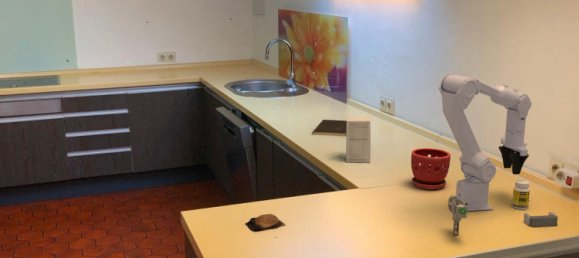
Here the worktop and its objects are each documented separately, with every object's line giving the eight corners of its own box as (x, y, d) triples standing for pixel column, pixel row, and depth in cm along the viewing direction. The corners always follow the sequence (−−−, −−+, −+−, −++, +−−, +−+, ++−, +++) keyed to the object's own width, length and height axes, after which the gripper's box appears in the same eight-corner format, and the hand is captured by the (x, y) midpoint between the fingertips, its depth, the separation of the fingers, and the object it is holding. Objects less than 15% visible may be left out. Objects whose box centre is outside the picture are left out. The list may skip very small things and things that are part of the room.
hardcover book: (354, 125, 301) (354, 121, 300) (347, 137, 279) (347, 132, 279) (322, 124, 305) (322, 119, 304) (312, 135, 283) (312, 130, 283)
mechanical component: (455, 227, 181) (457, 194, 178) (466, 242, 171) (468, 207, 168) (445, 227, 181) (447, 194, 178) (455, 242, 171) (458, 208, 168)
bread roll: (274, 218, 190) (274, 207, 189) (287, 228, 183) (287, 216, 182) (242, 225, 185) (242, 213, 184) (254, 235, 178) (254, 223, 177)
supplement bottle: (518, 210, 193) (520, 184, 191) (508, 205, 197) (511, 180, 195) (531, 208, 194) (533, 183, 192) (522, 203, 198) (524, 178, 196)
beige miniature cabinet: (369, 156, 250) (370, 115, 246) (370, 163, 241) (371, 120, 237) (345, 155, 251) (346, 115, 247) (345, 162, 242) (346, 120, 238)
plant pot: (449, 192, 208) (451, 158, 205) (409, 190, 211) (411, 156, 208) (448, 180, 221) (449, 147, 218) (410, 178, 223) (411, 146, 220)
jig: (530, 227, 180) (531, 219, 180) (523, 221, 184) (524, 213, 184) (558, 225, 181) (559, 217, 181) (551, 219, 185) (551, 211, 185)
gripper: (538, 135, 190) (534, 177, 194) (516, 124, 204) (513, 163, 208) (516, 136, 190) (512, 178, 193) (496, 124, 204) (493, 164, 207)
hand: (511, 171), depth 200 cm, fingers open, 6 cm apart
